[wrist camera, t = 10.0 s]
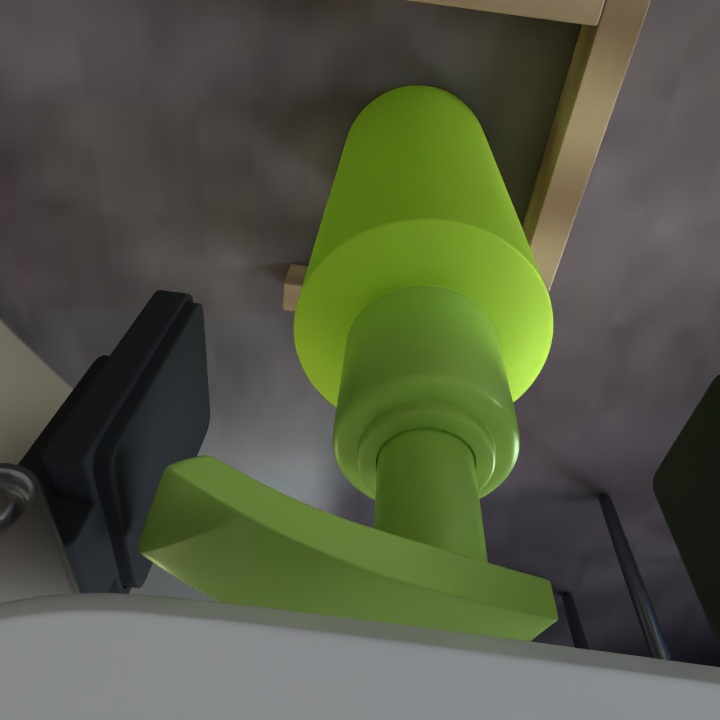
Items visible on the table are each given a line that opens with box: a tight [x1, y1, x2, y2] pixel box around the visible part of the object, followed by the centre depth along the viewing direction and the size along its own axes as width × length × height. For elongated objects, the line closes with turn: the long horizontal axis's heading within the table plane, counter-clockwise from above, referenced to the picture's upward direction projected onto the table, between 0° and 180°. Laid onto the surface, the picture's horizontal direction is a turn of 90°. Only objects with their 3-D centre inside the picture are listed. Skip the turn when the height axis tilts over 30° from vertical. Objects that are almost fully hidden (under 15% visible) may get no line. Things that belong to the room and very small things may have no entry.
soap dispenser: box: [137, 85, 558, 642], centre depth 16 cm, size 6×7×20 cm
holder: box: [282, 0, 651, 311], centre depth 23 cm, size 14×11×2 cm
